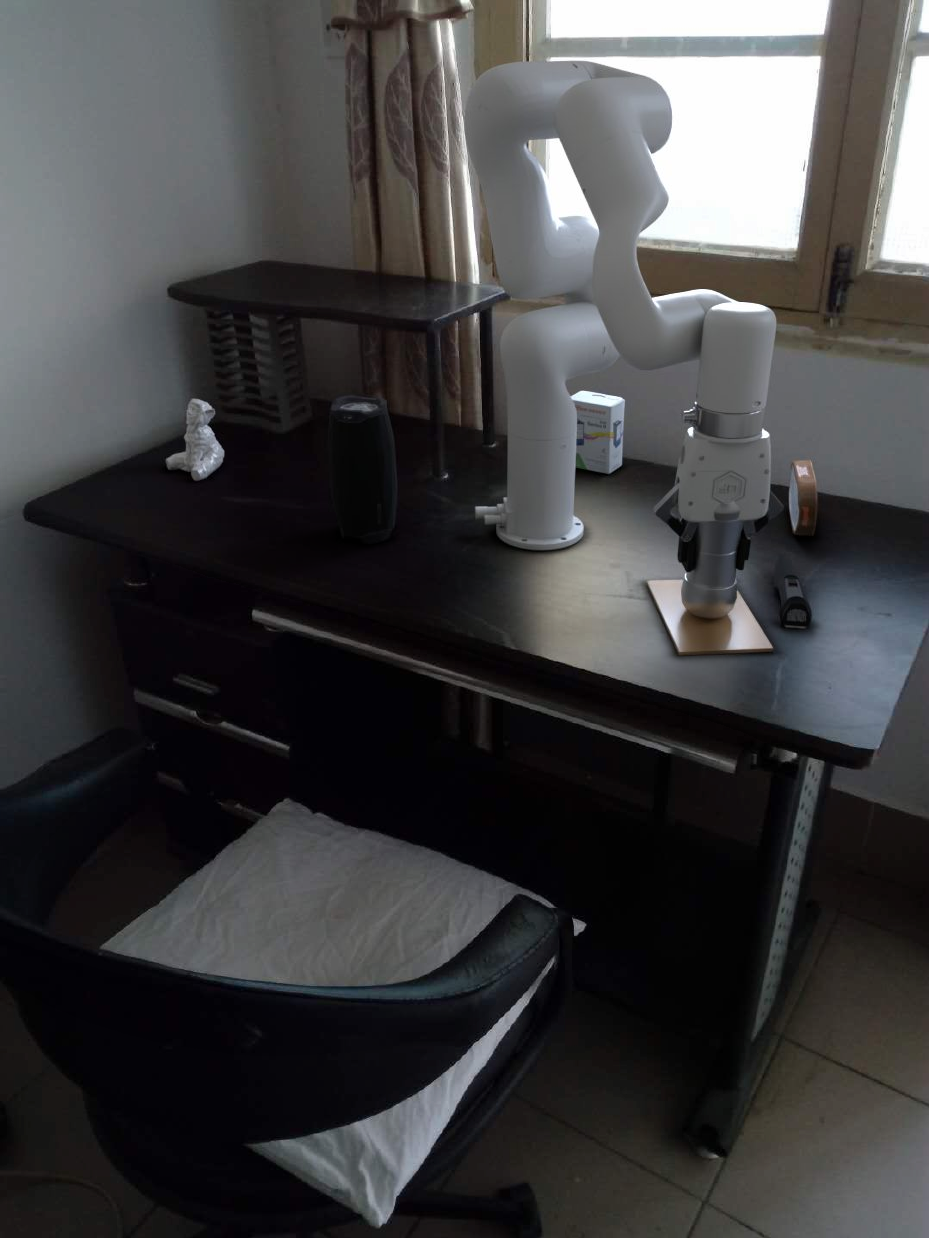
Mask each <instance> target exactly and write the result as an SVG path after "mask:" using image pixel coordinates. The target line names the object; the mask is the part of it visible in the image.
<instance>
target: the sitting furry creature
mask: <svg viewBox="0 0 929 1238" xmlns="http://www.w3.org/2000/svg"><path fill="white" fill-rule="evenodd" d="M215 415H216V409H215V408H213V406H212V405H210V403H208V401H204V400H201V399H199V398H191V399H190V401H189V403H188V405H187V409H186V422H185V424H186V425H187V426H186V430H185V432H186V433H185V434H184V436H183V439H184V441H185V451H182V452H176V453H174V454H171V455H170V456H169V457H167V458H165V464H166V468H167V469H168V471H177V470H181V471H184V472H187V473H190V475H191V478H192V479H193V480H194V481H195V482H199V481H202V480H204V479H207V478H208V477H209V476H210V475H211V474H212V473H214V472H215V471H216V470H217V469H218V468H220V466H221V465H222V463H223V462H224V458H225V450H224V449H223V447H222V445H221V444H220V443H219V441H218V440H217V439H216V436H215V434H216V433H214V431H213V430H212V428H211V427H210V426H209V423H210V422H211V420H212V419H213V418H214V416H215Z"/></svg>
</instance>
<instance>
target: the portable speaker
mask: <svg viewBox="0 0 929 1238" xmlns="http://www.w3.org/2000/svg"><path fill="white" fill-rule="evenodd" d="M393 432H394V431H393V428H392V424H391V420H390V415H389V406H388V402H387V400H386V399H384V398H383V397H377V398H373V397H363V396H358V395H353V394H349V395H342V396H340V397H337V398H335V399H333V401H332V403H331V407H330V409H329V421H328V434H327V454H328V455H327V456H328V469H329V481H330V491H331V493H330V494H331V498H332V503H333V507H334V511H335V514H336V518H337V519H336V520H337V522H338V527H339V530H340V535H341V538H342V539H348V537H349V538H350V537H351V538H355V539H360V540H361V542H362V543H363V544H366V545H373V544H378V543H382V542H384V541H386V540H388V539H389V538H390V536H391V533H392V531H393V529H394V528H395V526H396V525H395V524H396V514H397V506H398V476H397V475H398V474H397V460H396V459H397V457H396V445H395V436H394V433H393Z"/></svg>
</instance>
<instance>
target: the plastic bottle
mask: <svg viewBox="0 0 929 1238" xmlns="http://www.w3.org/2000/svg"><path fill="white" fill-rule="evenodd" d="M728 501H730V500H726V503H722V502H720V503H721V504H720V505H719V506H718V507H717V508H716V509H715V510H714V518H715V520H716V521H711V522H698V526H697V528H696V530H695V532H694V534H693V539H694V541H695V543H696V546H695V556H694V565H693V571H691V572H686V571H685V572H686V573H685V574H684V577H683V579H684V580H683V583H682V587H681V600H682V604H683V605H684V607H685V609H686V610H687V611H688V612H689V613H691V614H693V615H695V616H698V617H702V618H721V617H724V616H726V615H727V614H728V613H729V612H730V611H731V610H732V609H733V608H734V605H735V602H736V599H737V590H738V584H737V583H738V582H737V569H736V561H737V552H738V545H739V541H740V536H741V531H742V528H743V524H744V521H740V520H736V519H737V518H739V513H740V509H739V507H738V506H737V505H736V504H735V503H734V502H735V501H733V502H728Z"/></svg>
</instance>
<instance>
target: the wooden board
mask: <svg viewBox="0 0 929 1238" xmlns="http://www.w3.org/2000/svg"><path fill="white" fill-rule="evenodd" d="M683 580H684V578H682V579H681V578H680V579H679V578H678V579H677V578H676V579H654V580H653V579H652V580H646V586H647V588H648V590H649V592H650V595H651V597H652V599H653V601H654V604H655V605H656V608H657V611H658V612H659V614H660V617H661V619H662V621H663V623H664V625H665V628H666V631H667V633H668V634H669V636H670V638H671V641H672V644H673V645H674V648H675V650H676V652H677V654H678V656H699V655H701V656H702V655H724V654H747V653H748V654H749V653H772V652H774V647H773V645H772V643H771V642H770V640H769V638H768V637H767V635H766V633H765V632H764V630H763V629H762V627H761V626H760V624H759V622H758V620H757V619H756V618H755V616H754V615H753V613H752V611H751V609H750V608H749V606H748V605H747V603H746V601H745V600H744V598H743V596H742V594H741V593H740V592H739V590H738V589H737V599H736V602H735V605H734V608H733V609H732V610H731V611H730V612H729V613H728V614H727V615H726V616H724V617H721V618H702V617H698V616H695V615H693V614H691V613H689V612H688V611H687V610H686V609H685V607H684V605H683V604H682V600H681V587H682V583H683Z"/></svg>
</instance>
